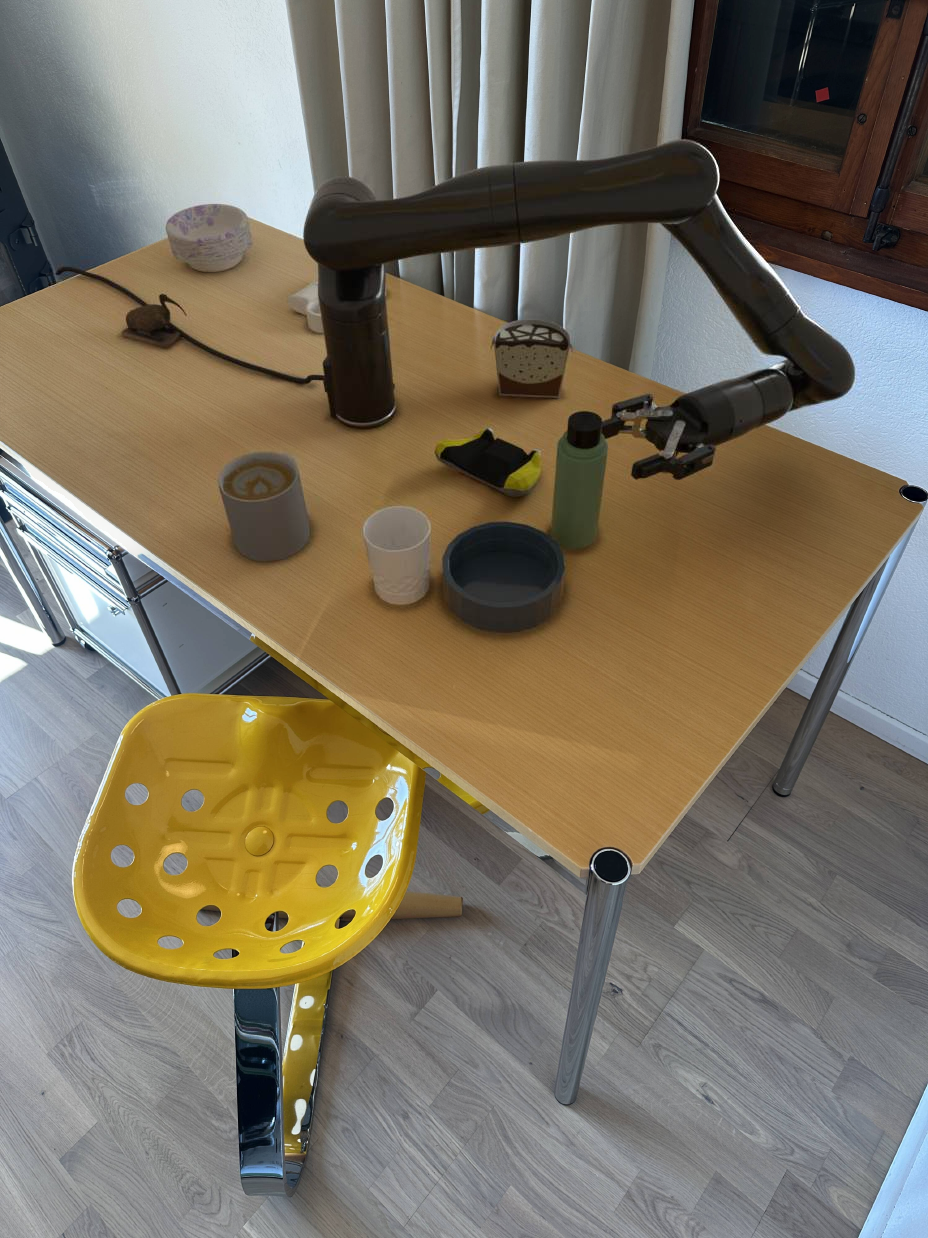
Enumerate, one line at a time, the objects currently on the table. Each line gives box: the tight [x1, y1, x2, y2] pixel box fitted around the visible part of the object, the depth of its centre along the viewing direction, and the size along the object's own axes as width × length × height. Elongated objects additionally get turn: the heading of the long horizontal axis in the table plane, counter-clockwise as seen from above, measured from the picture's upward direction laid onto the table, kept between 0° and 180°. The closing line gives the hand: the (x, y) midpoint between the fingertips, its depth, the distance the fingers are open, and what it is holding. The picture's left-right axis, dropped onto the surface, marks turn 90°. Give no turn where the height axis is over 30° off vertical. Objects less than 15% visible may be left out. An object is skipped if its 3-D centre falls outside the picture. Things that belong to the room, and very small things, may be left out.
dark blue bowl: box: [441, 520, 566, 634], centre depth 106 cm, size 15×15×5 cm
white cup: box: [362, 505, 432, 606], centre depth 105 cm, size 8×8×10 cm
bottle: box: [550, 410, 609, 550], centre depth 107 cm, size 6×6×18 cm
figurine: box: [121, 293, 188, 349], centre depth 146 cm, size 14×4×9 cm, turn 64°
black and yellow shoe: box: [434, 427, 542, 498], centre depth 120 cm, size 15×6×10 cm
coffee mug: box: [217, 450, 311, 563], centre depth 112 cm, size 13×10×10 cm
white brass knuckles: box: [287, 279, 387, 334], centre depth 154 cm, size 3×18×15 cm
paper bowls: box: [165, 203, 253, 273], centre depth 165 cm, size 15×15×8 cm
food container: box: [489, 318, 574, 399], centre depth 134 cm, size 12×6×10 cm, turn 84°
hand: (613, 452), depth 107 cm, fingers open, 8 cm apart
